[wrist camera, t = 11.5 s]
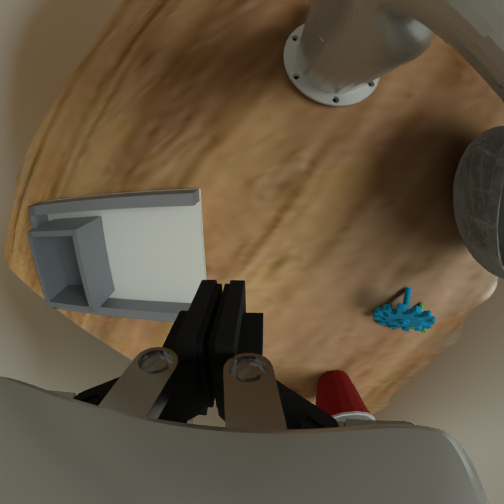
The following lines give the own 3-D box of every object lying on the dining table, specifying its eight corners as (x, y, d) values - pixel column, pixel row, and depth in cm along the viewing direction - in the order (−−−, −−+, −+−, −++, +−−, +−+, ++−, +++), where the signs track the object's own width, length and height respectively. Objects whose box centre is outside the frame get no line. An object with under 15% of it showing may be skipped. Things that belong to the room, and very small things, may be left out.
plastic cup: (296, 398, 50) (300, 449, 38) (312, 358, 46) (321, 412, 35) (348, 400, 50) (360, 448, 39) (369, 362, 46) (388, 412, 35)
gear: (358, 317, 41) (412, 309, 32) (366, 281, 43) (417, 268, 34) (398, 338, 44) (447, 333, 35) (404, 306, 46) (450, 298, 37)
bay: (43, 200, 38) (28, 206, 34) (200, 188, 37) (193, 193, 33) (64, 297, 45) (53, 308, 41) (209, 308, 43) (204, 323, 39)
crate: (52, 219, 38) (25, 232, 32) (101, 216, 38) (75, 229, 31) (67, 286, 42) (45, 305, 36) (115, 290, 42) (95, 312, 36)
